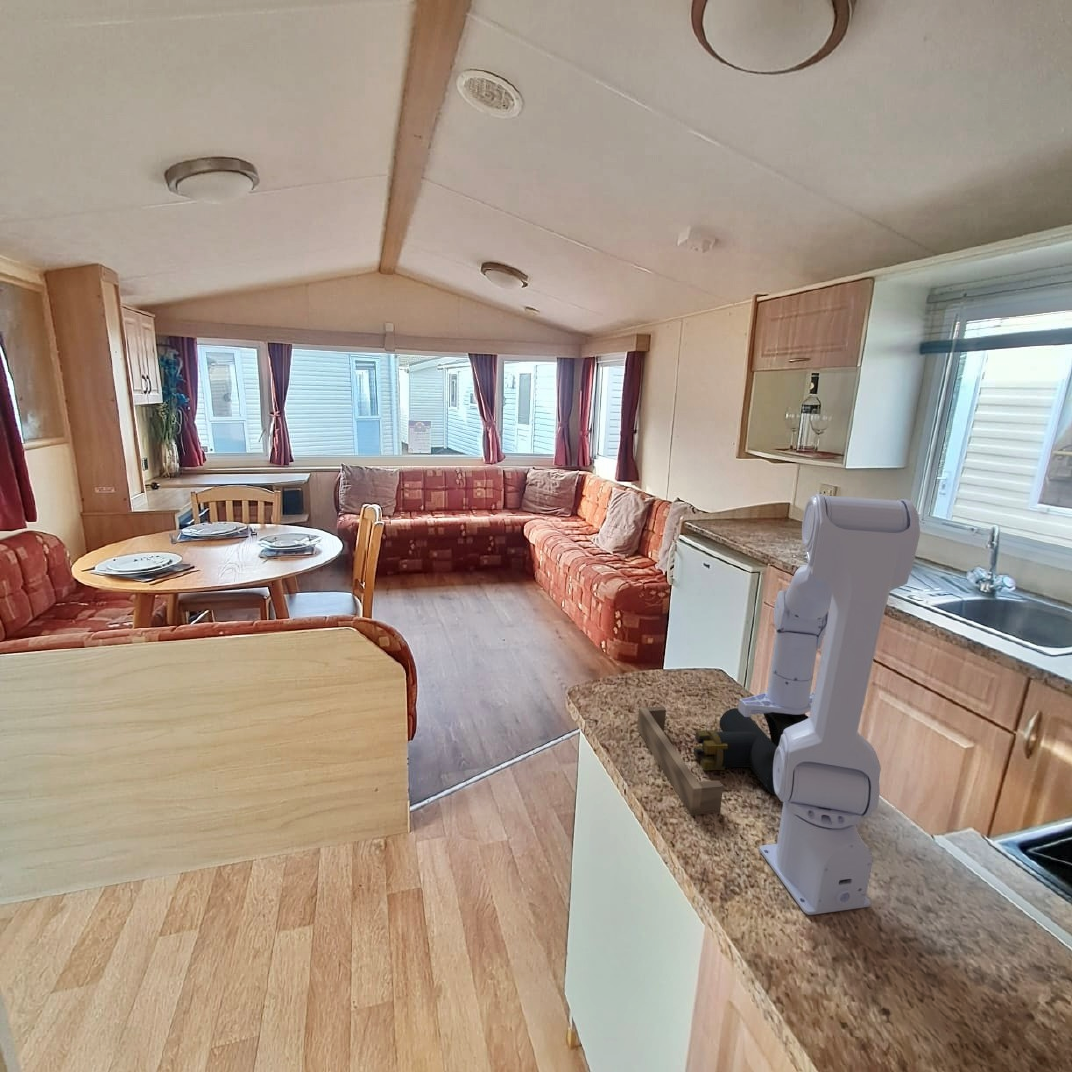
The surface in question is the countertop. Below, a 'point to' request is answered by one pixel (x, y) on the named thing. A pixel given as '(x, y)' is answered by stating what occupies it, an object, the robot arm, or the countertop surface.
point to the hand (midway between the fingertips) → (779, 753)
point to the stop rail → (677, 765)
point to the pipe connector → (737, 747)
